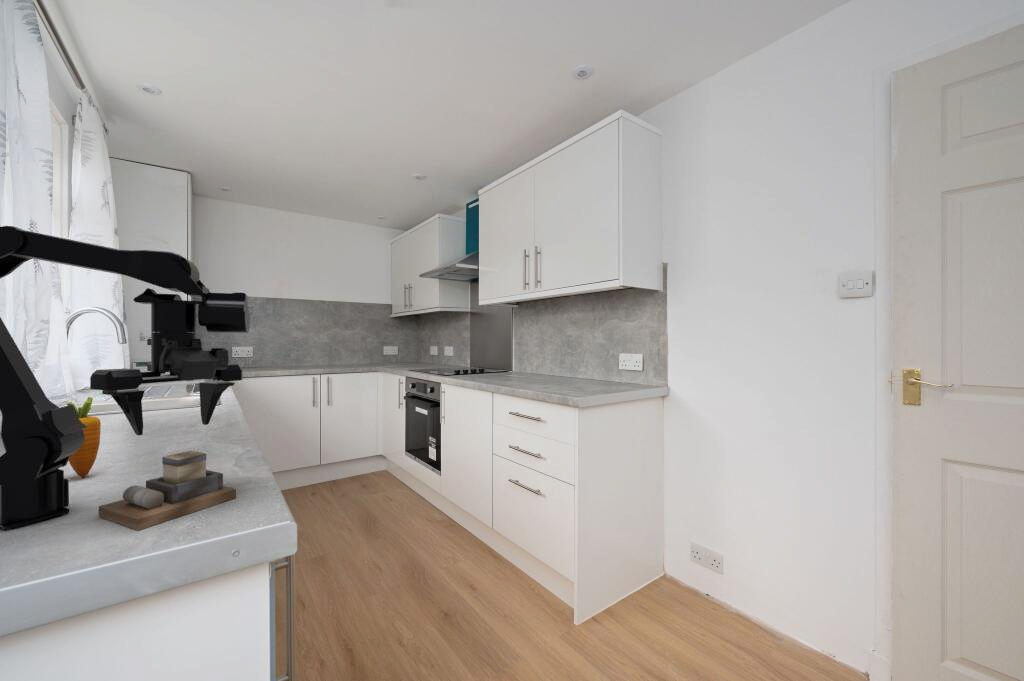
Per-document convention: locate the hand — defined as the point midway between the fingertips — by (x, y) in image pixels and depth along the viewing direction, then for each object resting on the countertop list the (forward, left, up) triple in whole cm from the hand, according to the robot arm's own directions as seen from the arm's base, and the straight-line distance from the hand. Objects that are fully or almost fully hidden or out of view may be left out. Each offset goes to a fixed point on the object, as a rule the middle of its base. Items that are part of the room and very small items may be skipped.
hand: (174, 429), depth 69 cm
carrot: (-1, +29, -12) cm, 31 cm away
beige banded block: (0, -3, -10) cm, 10 cm away
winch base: (-2, -3, -11) cm, 12 cm away
